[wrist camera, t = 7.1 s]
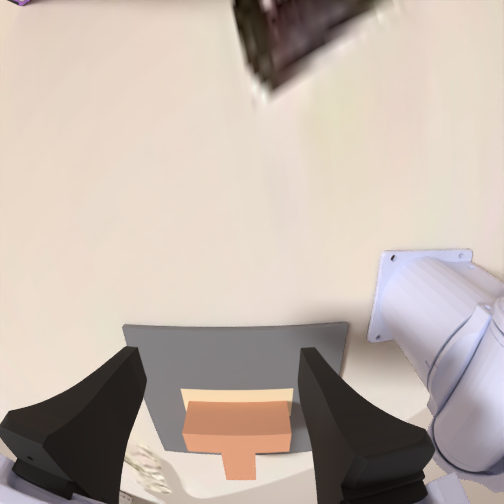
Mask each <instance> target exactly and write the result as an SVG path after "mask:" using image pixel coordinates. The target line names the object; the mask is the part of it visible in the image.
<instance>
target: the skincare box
mask: <svg viewBox="0 0 504 504" xmlns="http://www.w3.org/2000/svg"><path fill="white" fill-rule="evenodd" d="M132 499H133V498H132V497H130V496H128V495H126V494H125V493H123V492H121V491H120V494H119V504H131V503H132Z"/></svg>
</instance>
